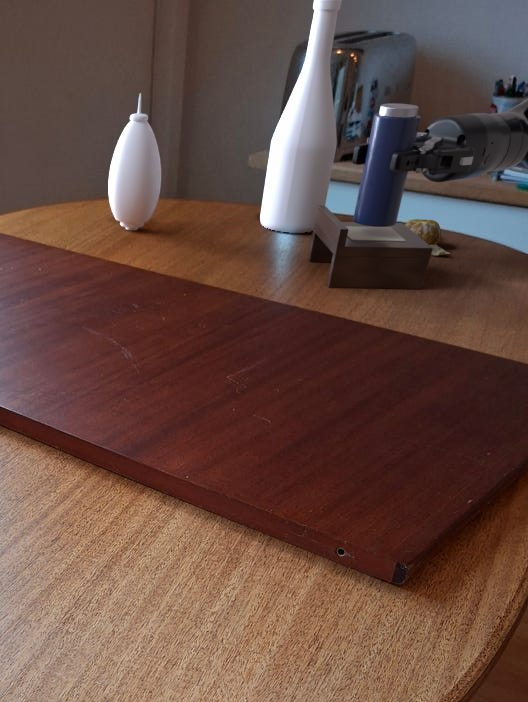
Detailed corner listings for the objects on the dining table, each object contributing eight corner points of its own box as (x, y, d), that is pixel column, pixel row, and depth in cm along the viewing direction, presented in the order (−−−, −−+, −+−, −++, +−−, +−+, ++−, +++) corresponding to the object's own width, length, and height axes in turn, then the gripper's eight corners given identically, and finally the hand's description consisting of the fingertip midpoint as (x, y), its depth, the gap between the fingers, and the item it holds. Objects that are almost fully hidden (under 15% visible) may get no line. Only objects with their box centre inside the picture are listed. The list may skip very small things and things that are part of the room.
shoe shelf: (393, 261, 123) (406, 207, 119) (422, 289, 113) (437, 231, 108) (307, 259, 123) (317, 205, 119) (328, 287, 113) (340, 229, 109)
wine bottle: (263, 217, 142) (298, -12, 124) (323, 223, 140) (367, -11, 121) (254, 231, 135) (289, -10, 117) (317, 237, 133) (363, -9, 114)
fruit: (390, 253, 126) (396, 226, 124) (386, 239, 132) (393, 212, 130) (450, 258, 125) (458, 230, 122) (444, 243, 131) (451, 216, 129)
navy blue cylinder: (389, 217, 116) (415, 103, 108) (401, 227, 112) (429, 109, 104) (348, 216, 116) (371, 102, 108) (358, 226, 112) (383, 108, 104)
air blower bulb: (162, 225, 137) (174, 91, 126) (149, 237, 132) (160, 97, 121) (115, 220, 140) (122, 88, 128) (99, 232, 134) (106, 94, 123)
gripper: (427, 107, 118) (337, 116, 111) (521, 121, 108) (429, 132, 101) (412, 169, 122) (325, 181, 115) (501, 188, 113) (412, 203, 106)
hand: (374, 158), depth 108 cm, fingers closed on navy blue cylinder, 5 cm apart
